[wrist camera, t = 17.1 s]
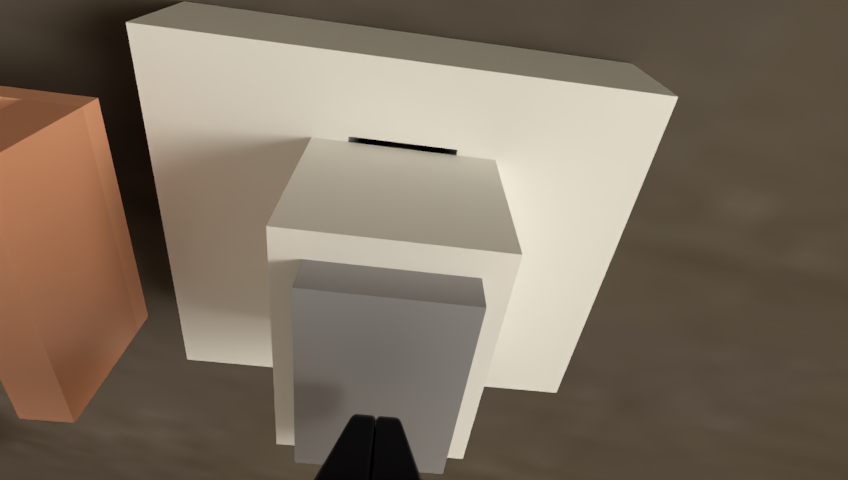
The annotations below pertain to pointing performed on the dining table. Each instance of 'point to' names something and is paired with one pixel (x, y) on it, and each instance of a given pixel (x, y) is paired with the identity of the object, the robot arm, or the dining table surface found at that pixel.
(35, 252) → the orange angular block
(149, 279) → the dining table surface
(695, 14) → the dining table surface
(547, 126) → the socket
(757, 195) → the dining table surface
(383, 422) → the robot arm
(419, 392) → the plug
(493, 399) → the dining table surface
